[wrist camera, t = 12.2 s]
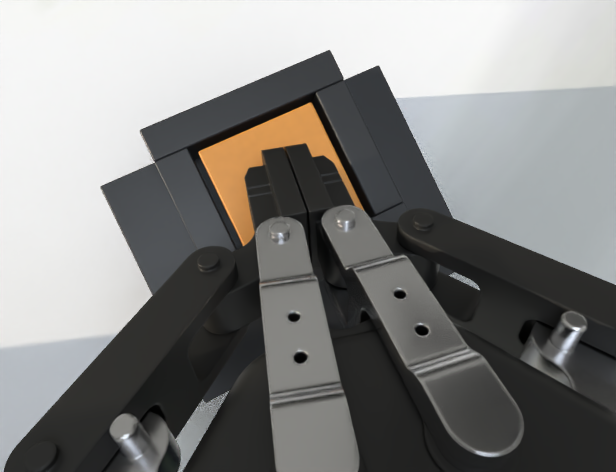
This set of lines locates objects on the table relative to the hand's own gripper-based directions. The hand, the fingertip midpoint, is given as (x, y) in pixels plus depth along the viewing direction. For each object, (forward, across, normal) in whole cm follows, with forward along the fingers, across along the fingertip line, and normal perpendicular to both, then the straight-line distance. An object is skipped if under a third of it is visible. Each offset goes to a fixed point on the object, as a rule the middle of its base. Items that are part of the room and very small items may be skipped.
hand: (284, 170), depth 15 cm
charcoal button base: (+3, 0, +6) cm, 7 cm away
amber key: (+2, 0, +2) cm, 3 cm away
